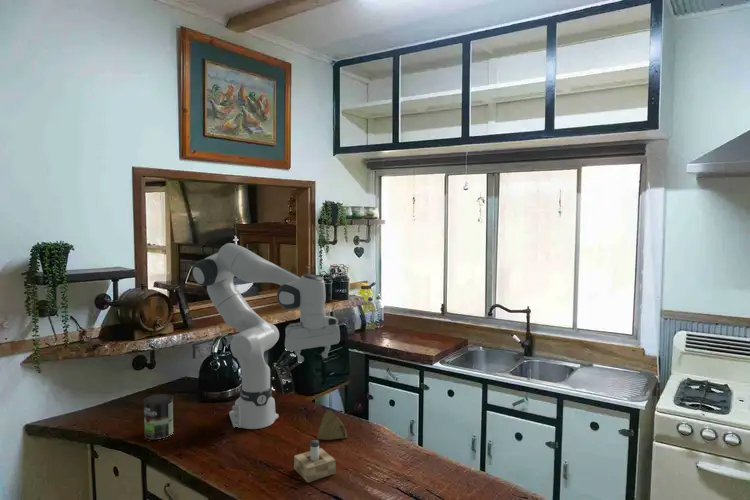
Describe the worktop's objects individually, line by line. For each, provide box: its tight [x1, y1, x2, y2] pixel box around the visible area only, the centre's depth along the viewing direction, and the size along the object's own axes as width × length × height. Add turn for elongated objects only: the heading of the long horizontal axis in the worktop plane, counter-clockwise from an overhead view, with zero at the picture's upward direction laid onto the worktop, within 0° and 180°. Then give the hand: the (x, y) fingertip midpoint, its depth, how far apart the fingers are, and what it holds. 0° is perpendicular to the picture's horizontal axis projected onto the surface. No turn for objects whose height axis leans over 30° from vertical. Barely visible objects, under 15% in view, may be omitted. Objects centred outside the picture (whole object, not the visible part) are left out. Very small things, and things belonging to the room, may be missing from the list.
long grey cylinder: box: [309, 439, 320, 462], centre depth 162 cm, size 3×3×10 cm
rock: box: [316, 409, 348, 441], centre depth 186 cm, size 11×9×10 cm
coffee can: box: [143, 393, 174, 439], centre depth 187 cm, size 10×10×14 cm
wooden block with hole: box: [293, 447, 337, 483], centre depth 162 cm, size 10×10×4 cm
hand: (312, 359), depth 174 cm, fingers open, 8 cm apart
